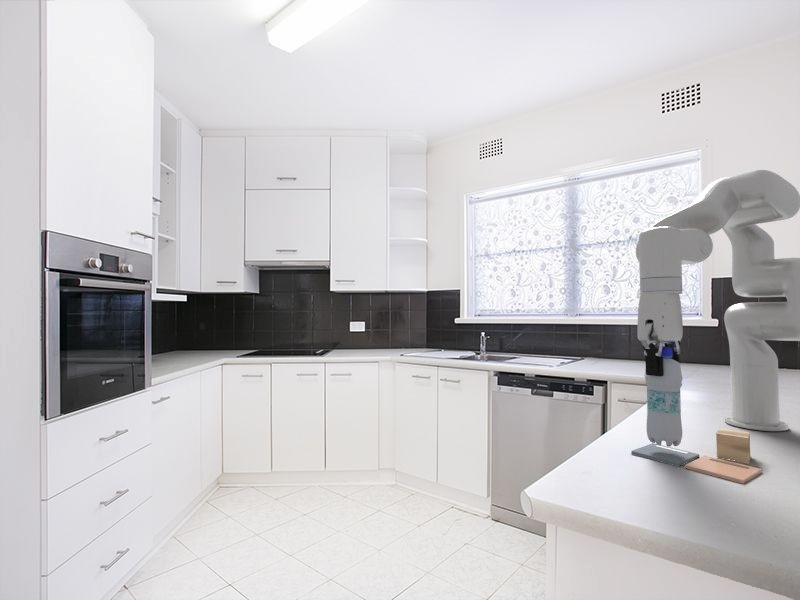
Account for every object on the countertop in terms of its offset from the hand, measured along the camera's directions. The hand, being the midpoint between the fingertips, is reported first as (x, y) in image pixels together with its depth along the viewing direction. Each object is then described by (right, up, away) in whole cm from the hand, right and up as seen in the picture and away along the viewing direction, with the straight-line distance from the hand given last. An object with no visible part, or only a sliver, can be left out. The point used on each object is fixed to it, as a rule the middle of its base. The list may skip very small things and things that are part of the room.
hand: (662, 373), depth 88 cm
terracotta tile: (+6, -17, -9) cm, 20 cm away
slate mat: (0, -17, -1) cm, 17 cm away
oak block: (+13, -17, -2) cm, 21 cm away
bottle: (0, -15, 0) cm, 15 cm away
